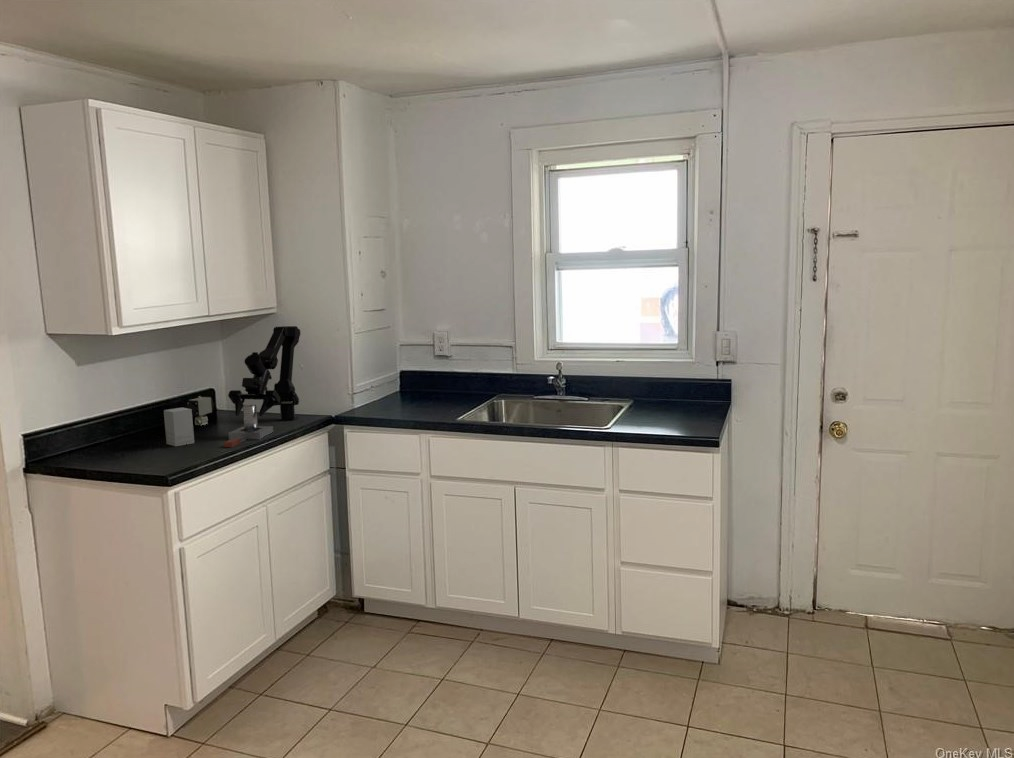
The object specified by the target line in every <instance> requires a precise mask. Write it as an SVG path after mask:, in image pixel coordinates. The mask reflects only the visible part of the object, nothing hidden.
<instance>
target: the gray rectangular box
mask: <svg viewBox="0 0 1014 758" xmlns="http://www.w3.org/2000/svg"><path fill="white" fill-rule="evenodd" d="M272 432H273V433H274V426H272V425H267V426H263V425H260V426H259V425H258V430H257V431H244V425H243V426H241V427H238V428H236V429H234V430H232V431H229V432H227V433H228V440H226V441H224V442H223V448H234V447H235V445H236V446H238V445H240V444H242V443H243V442H242V441H244V442H245V440H246V441H248V440H262V439H263V437H264V436H266V435H268V434H270V433H272ZM273 433H272V434H273ZM270 435H271V434H270ZM268 436H269V435H268ZM266 437H267V436H266ZM261 438H262V439H261ZM264 438H265V437H264ZM247 439H248V440H247ZM241 442H242V443H241ZM239 443H240V444H239ZM237 444H238V445H237ZM233 446H234V447H233Z"/></svg>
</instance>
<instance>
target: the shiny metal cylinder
mask: <svg viewBox="0 0 1014 758" xmlns="http://www.w3.org/2000/svg"><path fill="white" fill-rule="evenodd" d="M257 412H258V411H257V404H245V405H244V404H243V407H242V414H243V416H242V417H243V426H244V431H257V430H258V426H259V425H258V414H257Z"/></svg>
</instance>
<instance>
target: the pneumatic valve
mask: <svg viewBox="0 0 1014 758" xmlns="http://www.w3.org/2000/svg"><path fill="white" fill-rule="evenodd" d="M214 407H215V401H214V400H213V398H212V396H201V395H199V396H198V397H196V398H193V399H188V400H187V403H186V406H185V408H188V409H192V417H195V418H194V424H195V426H196V425H198V426H199V425H200V426H201V427H203V426H202V425H204V426H207V425H209V423H208V421H209V419H208V416H207V414H210V413H211V414H212V413H214V412H213V411H214ZM206 424H207V425H206Z"/></svg>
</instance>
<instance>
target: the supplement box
mask: <svg viewBox="0 0 1014 758" xmlns="http://www.w3.org/2000/svg"><path fill="white" fill-rule="evenodd" d="M163 418H164V419H163V420H164V430H165V439H166V440H165V441H166V442H165V443H166V445H169V446H173V447H180V446H185V445H186V444H187V445H191V444H195V433H194V432H195V431H194V424H193V423H194V422H193V416H192V409H188V408H186V407H175V408H169V409H164V410H163Z"/></svg>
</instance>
